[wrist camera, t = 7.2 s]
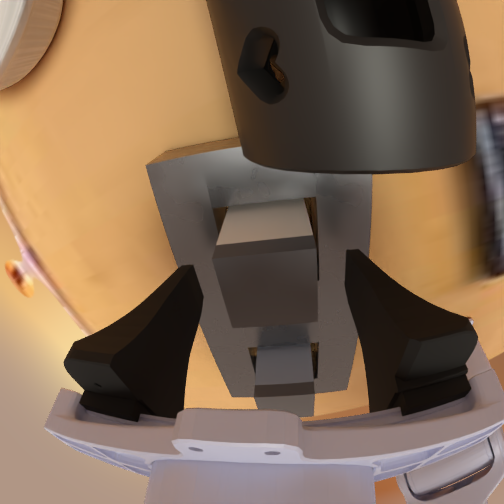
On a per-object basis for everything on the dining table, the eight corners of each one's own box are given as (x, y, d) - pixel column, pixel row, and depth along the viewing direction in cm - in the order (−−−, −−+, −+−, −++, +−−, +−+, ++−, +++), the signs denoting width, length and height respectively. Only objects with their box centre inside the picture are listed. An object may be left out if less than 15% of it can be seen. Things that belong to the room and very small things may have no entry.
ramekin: (-23, 58, 9) (-64, 67, 5) (43, -46, 5) (1, -55, 1) (20, 119, 14) (-29, 139, 9) (103, -3, 9) (52, -19, 5)
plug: (299, 185, 16) (316, 248, 10) (304, 242, 18) (317, 321, 12) (233, 193, 17) (211, 258, 11) (244, 248, 19) (232, 328, 13)
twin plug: (307, 318, 22) (314, 393, 16) (308, 348, 24) (313, 416, 18) (258, 322, 23) (253, 397, 17) (264, 351, 25) (261, 419, 19)
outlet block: (353, 127, 14) (371, 136, 11) (342, 365, 26) (346, 389, 23) (165, 151, 15) (145, 165, 13) (234, 372, 27) (232, 397, 25)
